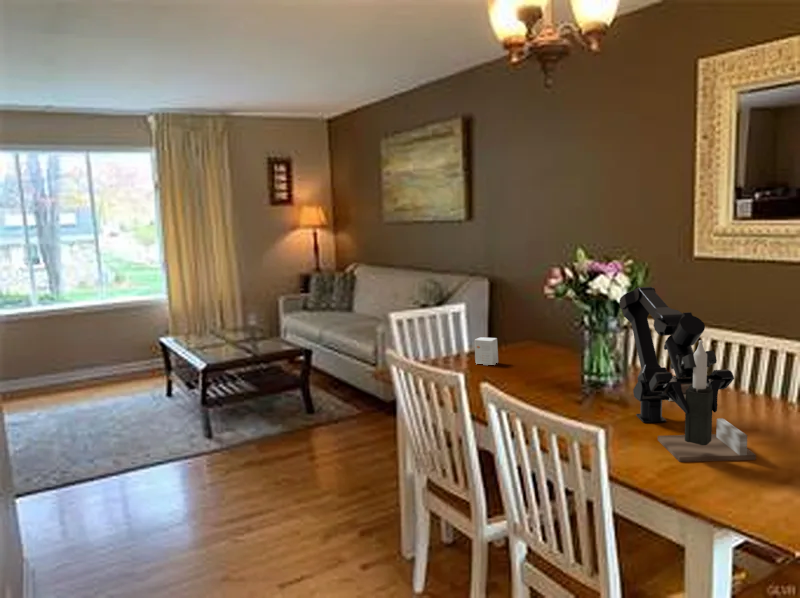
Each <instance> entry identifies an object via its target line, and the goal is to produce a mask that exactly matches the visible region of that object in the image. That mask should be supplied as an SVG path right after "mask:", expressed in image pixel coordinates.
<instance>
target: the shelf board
mask: <svg viewBox="0 0 800 598" xmlns="http://www.w3.org/2000/svg"><path fill="white" fill-rule="evenodd" d="M657 442H659V443H660V444H661V445H662V446H663V447H664V448H665V449H666V450H667V451H668V452H669V453H670V454H671V455H672V456H673V457H674V458H675V459H676V460H677V461H678V462H680V463H681V462H682V463H683V462H685V463H686V462H717V461H718V462H719V461H720V462H721V461H722V462H723V461H751V460H752V461H753V460H754V461H756V460H757V455H756V454H755V453H754V452H753V451H752V450H750V449H749V448H748V434H746V433H745V432H743V431H742V430H740V429H739V428H737V426H734V425H733V424H732V423H730V422H729V421H727V420H726V419H725V418H720V417H719V418H716V432H715V433H714V434H713V433H712V437H711V442H709V443H708V444H707V445H700V444H695V443H691V442H686V441H685V434H679V435H678V434H676V435H675V434H673V435H671V434H670V435H657Z"/></svg>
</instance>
